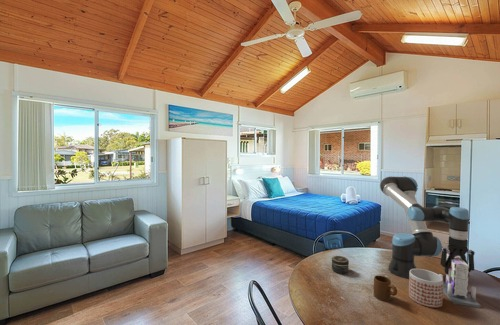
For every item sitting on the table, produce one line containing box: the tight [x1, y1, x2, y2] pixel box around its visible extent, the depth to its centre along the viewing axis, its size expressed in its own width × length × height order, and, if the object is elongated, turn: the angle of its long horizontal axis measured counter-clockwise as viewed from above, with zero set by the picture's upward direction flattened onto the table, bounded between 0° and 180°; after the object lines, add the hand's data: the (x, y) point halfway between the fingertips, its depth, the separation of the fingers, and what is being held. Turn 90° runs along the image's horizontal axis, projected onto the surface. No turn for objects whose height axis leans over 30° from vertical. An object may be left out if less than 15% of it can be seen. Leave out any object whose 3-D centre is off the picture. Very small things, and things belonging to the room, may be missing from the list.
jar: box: [331, 255, 350, 275], centre depth 151 cm, size 10×10×8 cm
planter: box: [408, 268, 444, 309], centre depth 122 cm, size 14×14×13 cm
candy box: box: [445, 253, 470, 298], centre depth 126 cm, size 14×6×16 cm, turn 154°
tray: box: [438, 273, 482, 309], centre depth 127 cm, size 12×20×7 cm, turn 163°
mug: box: [373, 275, 398, 302], centre depth 121 cm, size 12×8×9 cm, turn 20°
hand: (456, 281), depth 127 cm, fingers closed on candy box, 6 cm apart
